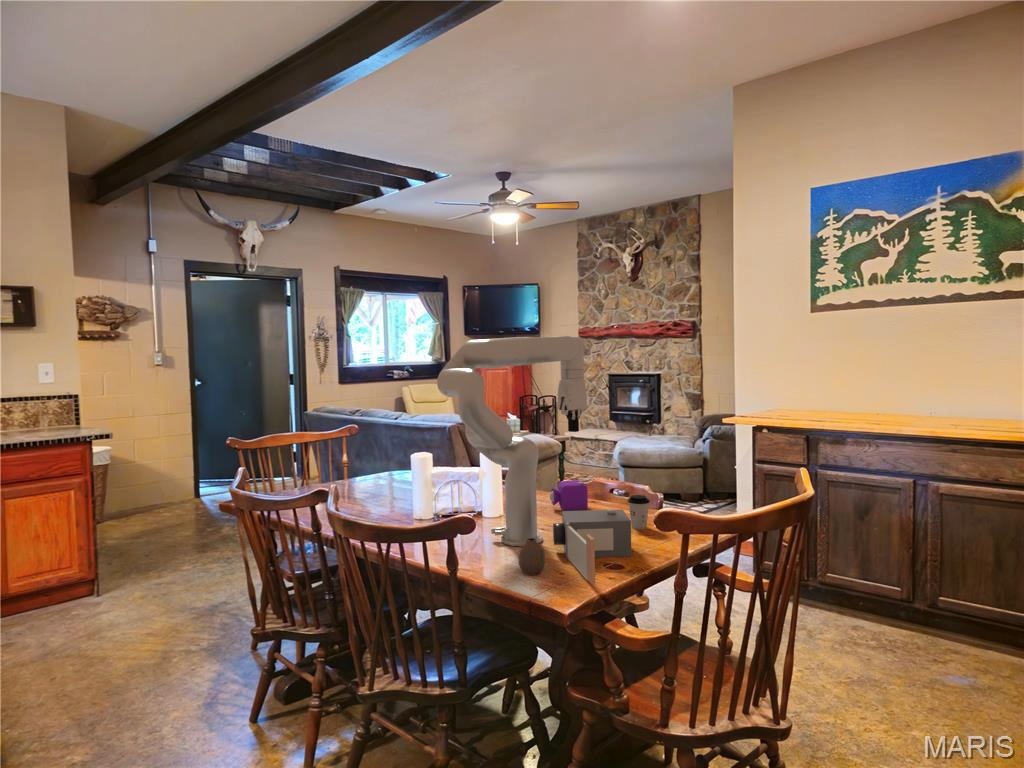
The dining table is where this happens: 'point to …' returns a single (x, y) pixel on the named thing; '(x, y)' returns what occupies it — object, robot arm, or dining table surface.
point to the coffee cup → (638, 511)
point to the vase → (531, 557)
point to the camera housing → (598, 530)
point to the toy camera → (570, 495)
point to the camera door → (581, 553)
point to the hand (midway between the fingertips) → (573, 431)
